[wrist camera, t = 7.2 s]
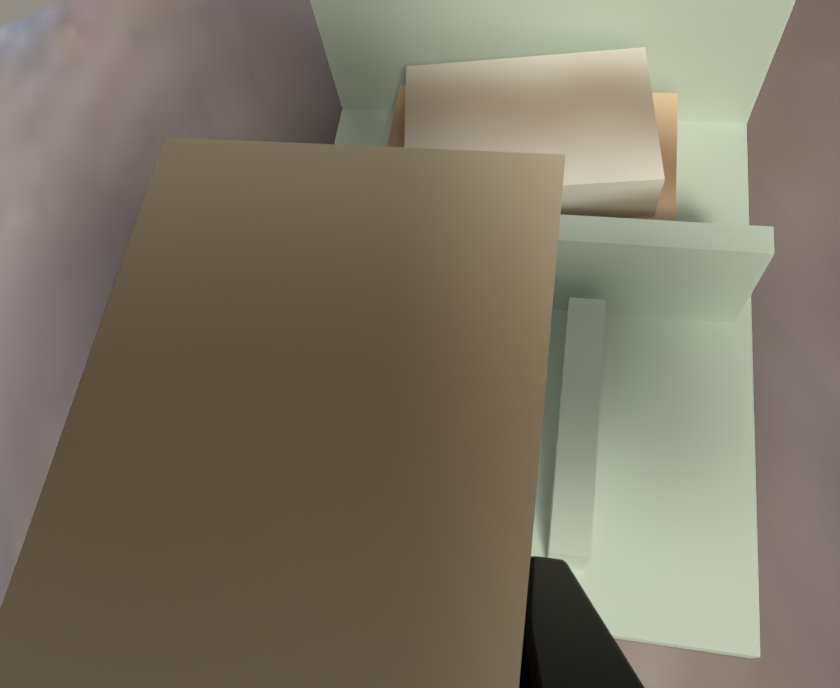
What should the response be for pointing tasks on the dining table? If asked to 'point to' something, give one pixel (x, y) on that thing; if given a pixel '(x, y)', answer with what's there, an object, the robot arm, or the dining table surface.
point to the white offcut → (550, 121)
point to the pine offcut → (666, 131)
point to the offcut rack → (627, 304)
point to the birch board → (302, 429)
